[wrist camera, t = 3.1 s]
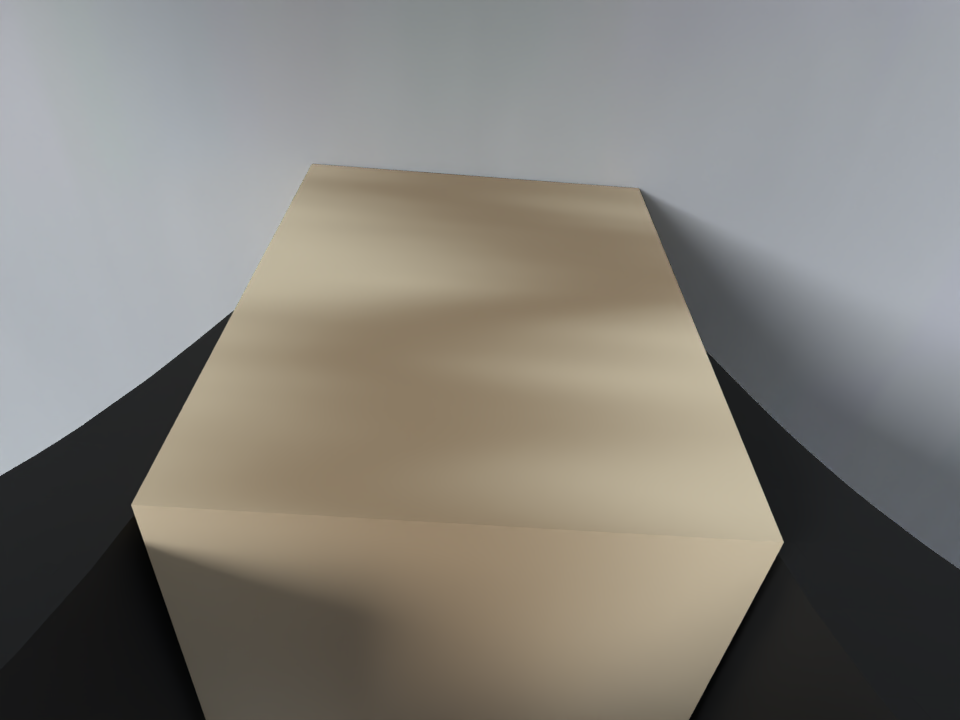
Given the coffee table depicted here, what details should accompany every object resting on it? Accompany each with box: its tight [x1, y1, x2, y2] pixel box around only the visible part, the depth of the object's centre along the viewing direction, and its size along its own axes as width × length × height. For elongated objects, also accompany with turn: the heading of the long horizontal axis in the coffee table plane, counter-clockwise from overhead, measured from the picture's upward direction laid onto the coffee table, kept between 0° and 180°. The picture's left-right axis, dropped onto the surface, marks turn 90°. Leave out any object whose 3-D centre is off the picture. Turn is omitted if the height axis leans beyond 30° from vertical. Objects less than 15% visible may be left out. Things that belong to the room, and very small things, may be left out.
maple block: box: [131, 164, 784, 720], centre depth 9 cm, size 4×4×6 cm
